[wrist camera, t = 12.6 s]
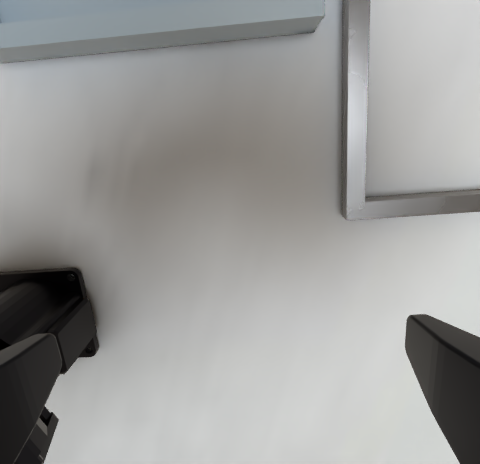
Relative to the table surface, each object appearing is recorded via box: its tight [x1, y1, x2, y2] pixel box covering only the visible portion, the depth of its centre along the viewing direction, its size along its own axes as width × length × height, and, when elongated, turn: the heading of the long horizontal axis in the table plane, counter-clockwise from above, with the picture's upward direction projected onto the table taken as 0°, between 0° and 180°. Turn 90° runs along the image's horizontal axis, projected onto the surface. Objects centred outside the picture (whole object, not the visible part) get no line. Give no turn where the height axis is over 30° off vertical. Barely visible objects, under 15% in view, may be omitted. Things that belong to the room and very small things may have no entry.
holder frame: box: [342, 0, 480, 220], centre depth 18 cm, size 12×17×1 cm
